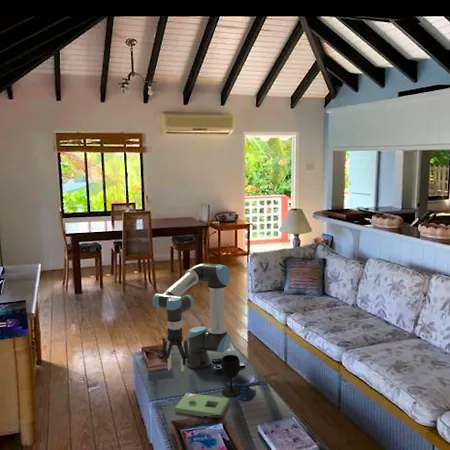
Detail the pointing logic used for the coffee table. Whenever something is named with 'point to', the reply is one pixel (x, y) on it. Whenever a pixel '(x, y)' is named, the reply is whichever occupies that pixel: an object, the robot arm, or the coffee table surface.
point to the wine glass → (230, 373)
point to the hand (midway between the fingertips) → (176, 369)
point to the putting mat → (202, 405)
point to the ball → (191, 397)
